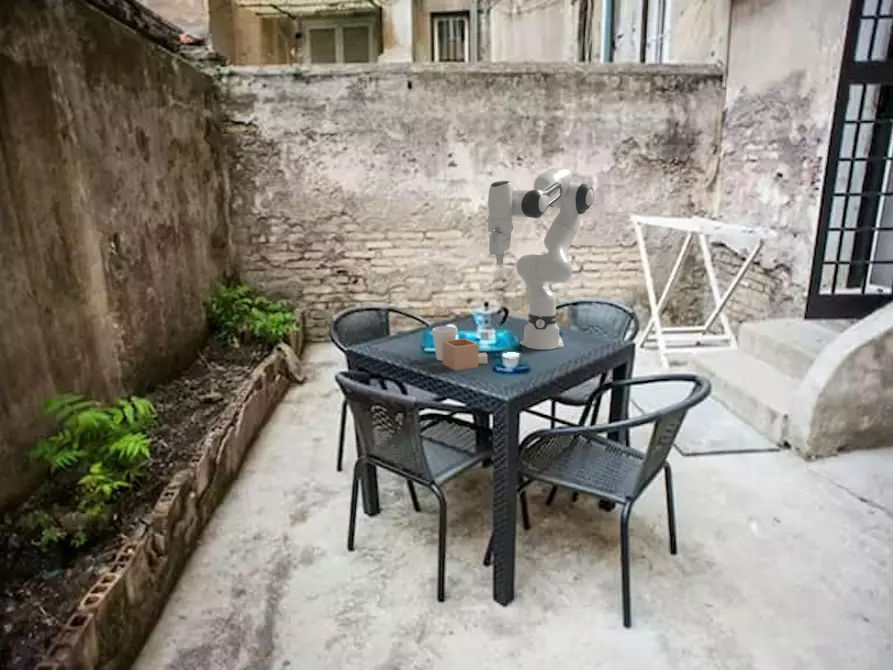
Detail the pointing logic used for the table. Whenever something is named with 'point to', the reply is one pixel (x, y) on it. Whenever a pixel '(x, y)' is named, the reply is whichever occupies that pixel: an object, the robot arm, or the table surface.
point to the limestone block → (482, 358)
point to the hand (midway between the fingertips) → (499, 264)
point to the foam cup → (442, 338)
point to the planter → (460, 354)
